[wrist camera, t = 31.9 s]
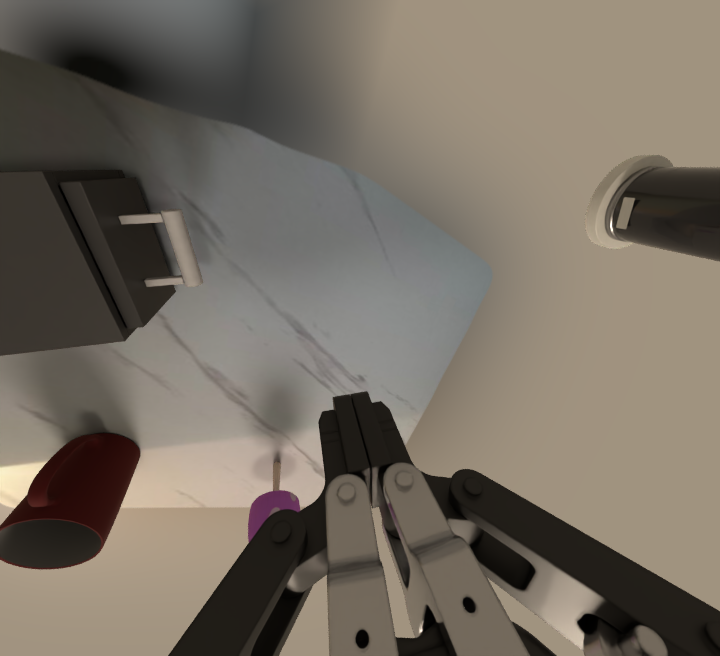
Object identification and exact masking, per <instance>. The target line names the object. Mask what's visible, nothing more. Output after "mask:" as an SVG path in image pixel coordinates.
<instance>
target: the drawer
mask: <svg viewBox="0 0 720 656" xmlns="http://www.w3.org/2000/svg"><path fill="white" fill-rule="evenodd" d="M59 184H60V187H61V189H62V190H60V191H61V194H62V196H63V198H64V200H65V202H66V204H67V206H68V208H69V210H70V212H71V215H72V217H73V219H76V220H77V223H78V225H79V227H80V229H81V231H82V233H83V235H84V237H85V240H86V242H87V244H88V246H89V248H90V250H91V252H92V254H93V256H94V259H95V261H96V263H97V265H98V267H99V269H100V271H101V273H102V275H103V278H104V280H105V282H106V284H105V286H106V288H107V290H108V292H109V294H110V296H111V299H112V301H113V303H114V305H115V307H116V309H117V311H120V314H121V316H122V318H123V320H124V322H125V324H126V326H127V328H128V329H129V328H138V327H144V326H145V325H146V324H147V323H148V322H149V321H150V320H151V318H152V317H153V316H154V315H155V314H156V313H157V312H158V311H159V310H160V308H161V307H162V306H163V305H164V304H165V303H166V302H167V301H168V300H169V299H170V297H171V296H172V295H173V294H174V293H175V292H176V290H175V288H174V284H184V283H185V285H186V286H187V287H194V286H199V285H201V284H203V280H202V276H201V273H200V270H199V266H198V263H197V260H196V256H195V253H194V250H193V246H192V243H191V240H190V236H189V233H188V230H187V226H186V223H185V220H184V216H183V213H182V210H181V209H170V210H163V211H161V213H154V214H148V211H147V209H146V206H145V203H144V200H143V197H142V195H141V192H140V189H139V186H138V183H137V180H136V178H114V179H98V180H81V181H65V182H59ZM158 222H164V223H165V226H166V229H167V232H168V235H169V238H170V241H171V244H172V247H173V250H174V253H175V256H176V259H177V262H178V265H179V268H180V271H181V274H182V275H180V276H170V274H169V271H168V268H167V265H166V262H165V259H164V257H163V254H162V251H161V248H160V245H159V242H158V240H157V237H156V234H155V231H154V228H153V226H152V223H158Z"/></svg>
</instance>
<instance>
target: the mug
mask: <svg viewBox="0 0 720 656" xmlns="http://www.w3.org/2000/svg"><path fill="white" fill-rule="evenodd" d="M139 458H140V450H139V448H138V447H137V445H136V444H135V443H134V442H132V441H131V440H129V439H127V438H125V437H123V436H120V435H116V434H109V433H97V434H91V435H83V436H80V437H77V438H75V439H73V440H72V441H70V442H69V443H67V444H66V445H65V446H63V447H62V448H61V449H60V450H59V451H58V452H57V453H56V454H55V455H54V456H53V457H52V458H51V459H50V460H49V461H48V462H47V463H46V464H45V465H44V467H43V468H42V469H41V470H40V471H39V473H38V474H37V475H36V477H35V478H34V480H33V482H32V483H31V485H30V488H29V491H28V495H27V496H26V497H25V498H24V499H23V500H22V501H21V502H20V504H19V505H18V506H17V507H16V508H15V509H14V510H13V511H12V513H11V514H10V515H9V516H8V517H7V518H6V520H5V521H4V522H3V523H2V524H1V525H0V560H2V561H4V562H6V563H8V564H12V565H15V566H19V567H24V568H31V569H59V568H66V567H71V566H75V565H78V564H81V563H84V562H86V561H88V560H90V559H92V558H93V557H95V556H96V555H97V554H98V553H99V552H100V551H101V549H102V548H103V546H104V543H105V541H106V539H107V537H108V535H109V533H110V530H111V528H112V526H113V524H114V521H115V519H116V516H117V514H118V512H119V509H120V507H121V504H122V502H123V499H124V497H125V494H126V492H127V489H128V487H129V484H130V482H131V479H132V476H133V474H134V471H135V469H136V466H137V464H138V461H139Z"/></svg>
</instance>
